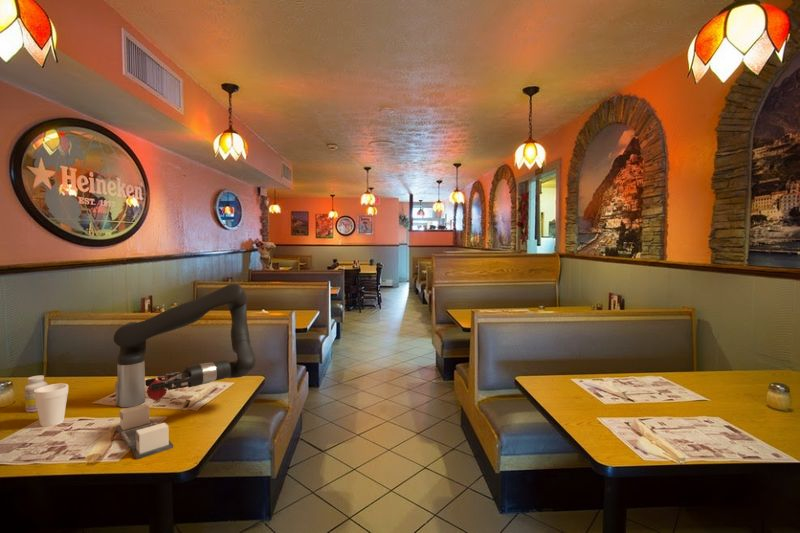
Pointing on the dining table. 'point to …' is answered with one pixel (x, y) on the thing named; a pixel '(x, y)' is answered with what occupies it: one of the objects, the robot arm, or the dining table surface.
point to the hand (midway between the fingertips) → (148, 385)
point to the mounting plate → (131, 440)
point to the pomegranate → (156, 391)
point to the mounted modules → (146, 436)
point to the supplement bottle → (32, 392)
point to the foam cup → (51, 403)
